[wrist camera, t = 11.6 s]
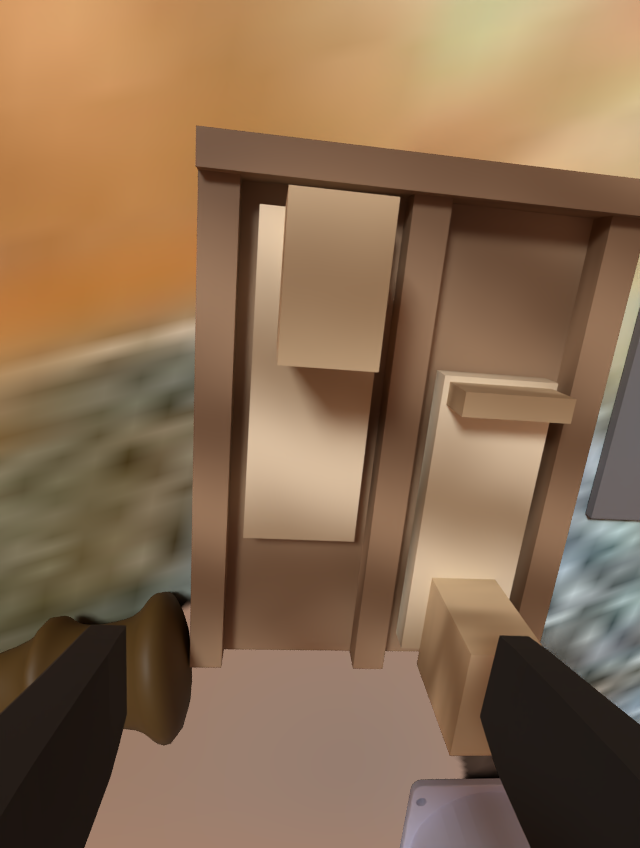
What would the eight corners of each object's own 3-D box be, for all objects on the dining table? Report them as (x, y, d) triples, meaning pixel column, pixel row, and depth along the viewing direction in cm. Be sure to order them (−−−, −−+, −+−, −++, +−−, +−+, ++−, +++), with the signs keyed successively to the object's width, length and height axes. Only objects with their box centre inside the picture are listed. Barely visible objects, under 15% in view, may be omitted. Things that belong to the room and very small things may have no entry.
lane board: (511, 636, 23) (539, 679, 20) (197, 631, 21) (187, 677, 19) (615, 194, 18) (669, 182, 15) (207, 147, 16) (196, 125, 14)
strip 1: (350, 529, 19) (374, 613, 14) (244, 525, 19) (234, 610, 14) (386, 220, 16) (432, 200, 11) (260, 207, 16) (254, 181, 11)
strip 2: (485, 649, 21) (544, 754, 17) (393, 647, 21) (427, 756, 16) (544, 378, 18) (638, 415, 13) (436, 370, 18) (495, 406, 13)
